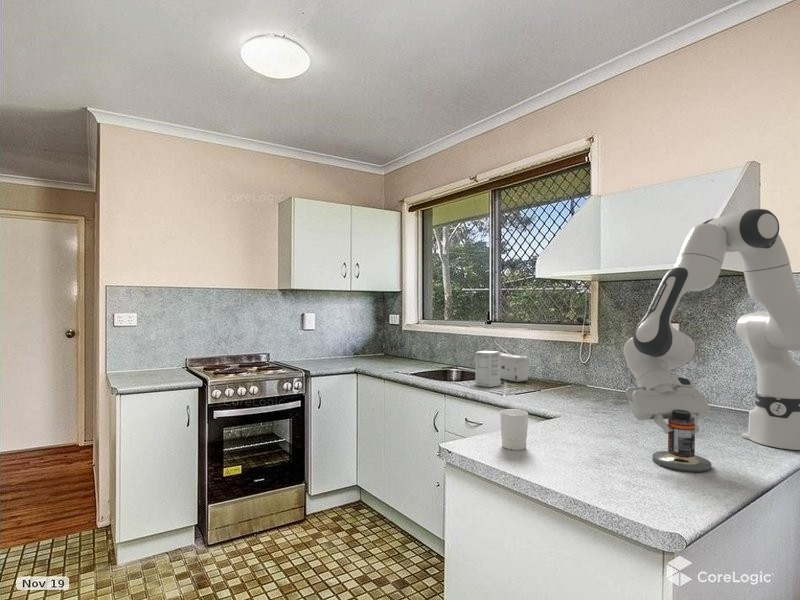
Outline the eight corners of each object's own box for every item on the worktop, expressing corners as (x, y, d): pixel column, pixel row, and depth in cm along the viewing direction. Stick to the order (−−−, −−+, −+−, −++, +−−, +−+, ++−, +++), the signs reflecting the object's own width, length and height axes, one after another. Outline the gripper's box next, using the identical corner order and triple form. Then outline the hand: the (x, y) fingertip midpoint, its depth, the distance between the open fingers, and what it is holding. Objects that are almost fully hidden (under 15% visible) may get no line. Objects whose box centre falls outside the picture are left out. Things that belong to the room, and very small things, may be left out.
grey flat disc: (660, 452, 131) (660, 447, 131) (716, 463, 122) (716, 458, 122) (645, 463, 121) (645, 459, 121) (704, 477, 112) (704, 471, 112)
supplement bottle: (667, 449, 125) (667, 407, 125) (693, 453, 123) (693, 409, 123) (668, 456, 120) (669, 412, 120) (696, 459, 117) (696, 414, 117)
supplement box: (501, 385, 235) (501, 351, 235) (491, 387, 228) (491, 353, 228) (485, 382, 242) (485, 350, 242) (474, 385, 235) (474, 351, 235)
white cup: (521, 441, 140) (521, 408, 140) (532, 450, 132) (532, 414, 132) (495, 443, 139) (496, 409, 139) (506, 451, 131) (506, 415, 131)
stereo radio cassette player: (528, 381, 246) (528, 343, 246) (517, 383, 241) (517, 344, 242) (501, 376, 264) (501, 340, 264) (490, 377, 260) (490, 341, 260)
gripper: (627, 381, 127) (650, 426, 118) (697, 379, 129) (725, 424, 120) (618, 394, 132) (639, 439, 122) (686, 392, 134) (712, 437, 124)
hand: (682, 432), depth 121 cm, fingers closed on supplement bottle, 6 cm apart
